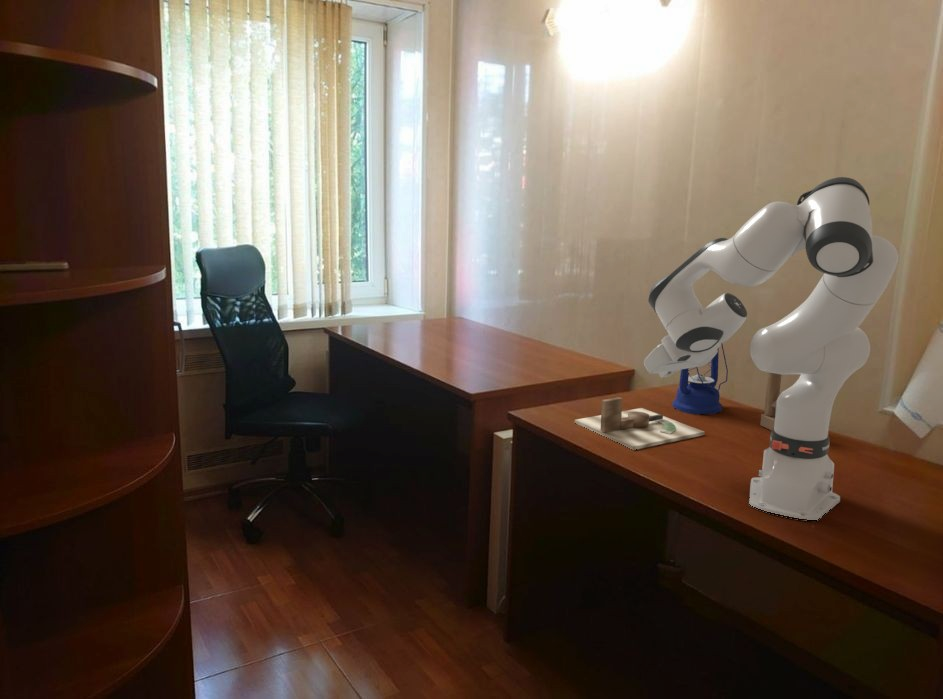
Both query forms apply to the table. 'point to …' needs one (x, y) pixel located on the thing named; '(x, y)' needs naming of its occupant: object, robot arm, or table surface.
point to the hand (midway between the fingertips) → (663, 374)
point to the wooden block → (771, 400)
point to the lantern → (699, 391)
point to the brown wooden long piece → (613, 414)
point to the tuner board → (643, 431)
